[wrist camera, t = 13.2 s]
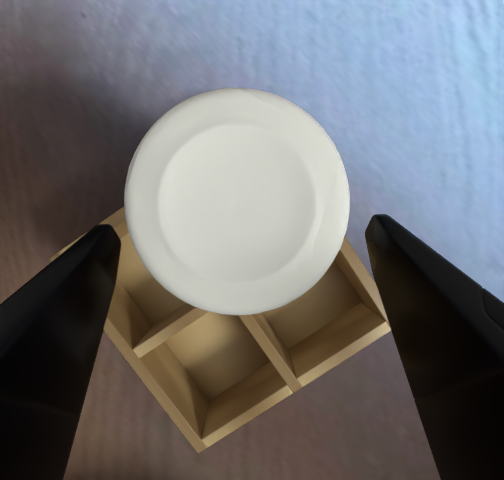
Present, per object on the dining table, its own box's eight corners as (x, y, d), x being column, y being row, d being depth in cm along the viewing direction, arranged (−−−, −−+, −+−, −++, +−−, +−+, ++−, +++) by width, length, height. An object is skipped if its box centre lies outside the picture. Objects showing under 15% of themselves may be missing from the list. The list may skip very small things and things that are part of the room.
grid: (207, 407, 20) (197, 454, 16) (89, 249, 19) (48, 258, 15) (370, 302, 20) (401, 324, 16) (260, 131, 18) (263, 108, 14)
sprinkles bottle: (199, 206, 18) (62, 182, 5) (251, 166, 18) (259, 21, 5) (239, 257, 19) (217, 368, 5) (290, 218, 18) (405, 227, 5)
